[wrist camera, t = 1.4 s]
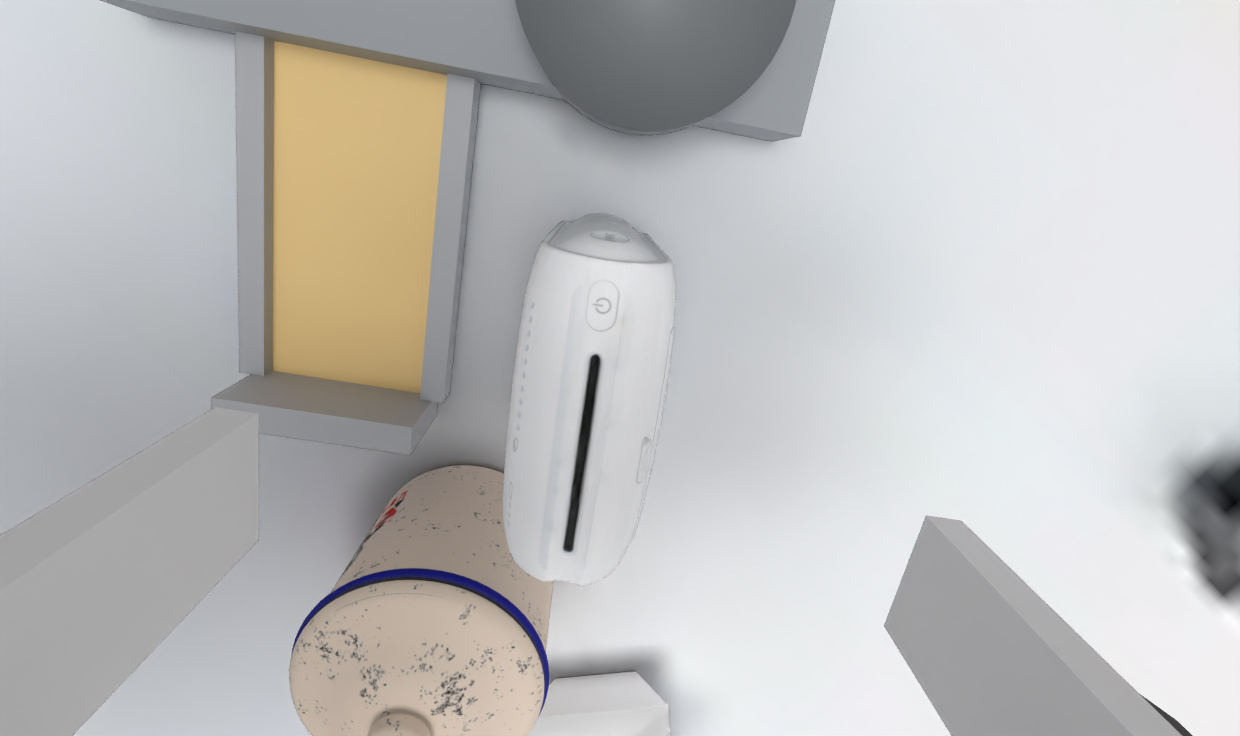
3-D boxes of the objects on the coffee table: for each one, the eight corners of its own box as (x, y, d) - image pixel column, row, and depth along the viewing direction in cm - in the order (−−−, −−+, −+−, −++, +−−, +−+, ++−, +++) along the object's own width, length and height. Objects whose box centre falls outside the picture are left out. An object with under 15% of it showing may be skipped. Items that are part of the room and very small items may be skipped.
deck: (166, 375, 26) (32, 438, 20) (136, -216, 20) (-75, -393, 14) (696, 455, 28) (724, 534, 22) (820, -58, 22) (907, -149, 16)
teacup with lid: (375, 447, 28) (228, 629, 17) (571, 466, 28) (553, 653, 17) (375, 654, 31) (254, 915, 20) (548, 666, 32) (522, 926, 21)
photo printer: (554, 202, 25) (514, 229, 13) (656, 218, 25) (708, 259, 13) (528, 429, 28) (477, 617, 16) (619, 441, 28) (634, 633, 16)
